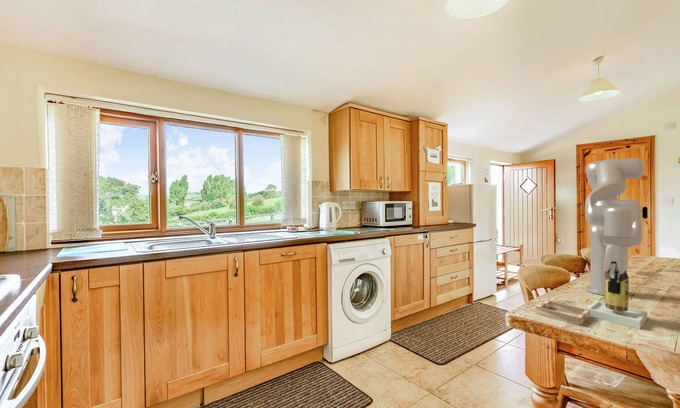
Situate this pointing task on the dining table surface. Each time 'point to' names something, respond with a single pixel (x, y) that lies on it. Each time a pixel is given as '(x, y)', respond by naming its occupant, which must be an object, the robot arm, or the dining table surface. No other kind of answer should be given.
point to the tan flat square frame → (582, 313)
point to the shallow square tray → (618, 315)
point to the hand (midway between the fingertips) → (616, 290)
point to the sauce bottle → (618, 300)
